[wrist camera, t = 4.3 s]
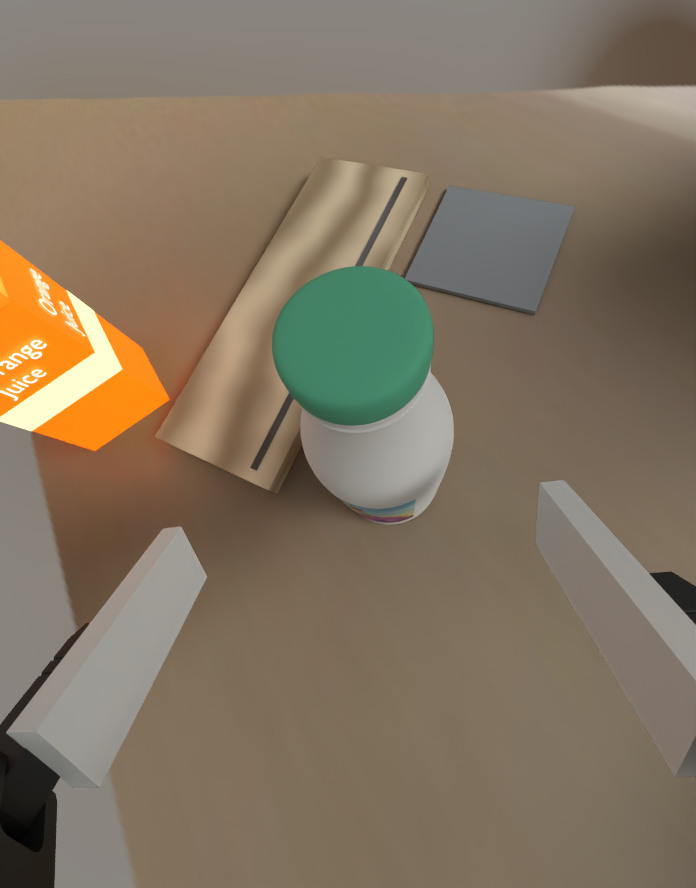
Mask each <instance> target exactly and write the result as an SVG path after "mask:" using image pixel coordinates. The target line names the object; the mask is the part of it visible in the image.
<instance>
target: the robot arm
mask: <svg viewBox="0 0 696 888" xmlns="http://www.w3.org/2000/svg"><path fill="white" fill-rule="evenodd" d="M535 544H536V546H537V548H538V549H539V551H540V553H541V554H542V556H543V558H544V559H545V561H546V563H547V564H548V566H549V568H550V569H551V571H552V573H553V574H554V576H555V578H556V579H557V581H558V583H559V584H560V586H561V588H562V589H563V591H564V593H565V594H566V596H567V598H568V599H569V601H570V603H571V604H572V606H573V608H574V609H575V611H576V613H577V614H578V616H579V618H580V619H581V621H582V623H583V624H584V626H585V628H586V629H587V631H588V633H589V634H590V636H591V638H592V639H593V641H594V643H595V644H596V646H597V648H598V649H599V651H600V653H601V654H602V656H603V658H604V659H605V661H606V663H607V664H608V666H609V668H610V669H611V671H612V673H613V674H614V676H615V678H616V679H617V681H618V683H619V685H620V686H621V688H622V690H623V691H624V693H625V695H626V696H627V698H628V700H629V701H630V703H631V705H632V706H633V708H634V710H635V711H636V713H637V715H638V716H639V718H640V720H641V721H642V723H643V725H644V726H645V728H646V730H647V731H648V733H649V735H650V736H651V738H652V740H653V741H654V743H655V745H656V746H657V748H658V750H659V751H660V753H661V755H662V756H663V758H664V760H665V761H666V763H667V765H668V766H669V768H670V770H671V771H672V773H673V775H674V776H675V777H696V586H694V585H692V584H691V583H689V582H688V581H686V580H684V579H683V578H681V577H679V576H678V575H676V574H675V573H673V572H660V573H648V572H647V571H646V570H645V569H644V567H643V566H642V565H641V564H640V563H639V562H638V561H637V560H636V559H635V558H634V556H633V555H632V554H631V553H630V552H629V551H628V550H627V549H626V548H625V547H624V545H623V544H622V543H621V542H620V541H619V540H618V539H617V538H616V537H615V536H614V534H613V533H612V532H611V531H610V530H609V529H608V528H607V527H606V526H605V525H604V523H603V522H602V521H601V520H600V519H599V518H598V517H597V516H596V515H595V514H594V512H593V511H592V510H591V509H590V508H589V507H588V506H587V505H586V504H585V503H584V501H583V500H582V499H581V498H580V497H579V496H578V495H577V494H576V493H575V492H574V490H573V489H572V488H571V487H570V486H569V485H568V484H567V483H566V482H565V481H564V480H559V481H551V482H542V483H540V487H539V501H538V515H537V529H536V542H535ZM206 578H207V576H206V574H205V572H204V570H203V568H202V566H201V564H200V562H199V560H198V558H197V556H196V554H195V552H194V550H193V548H192V547H191V545H190V543H189V541H188V539H187V537H186V535H185V533H184V531H183V529H182V527H181V526H180V527H172V528H164V529H162V531H161V532H160V533H159V534H158V536H157V537H156V538H155V540H154V541H153V542H152V543H151V545H150V546H149V547H148V549H147V550H146V551H145V553H144V554H143V555H142V556H141V558H140V559H139V560H138V562H137V563H136V564H135V566H134V567H133V568H132V569H131V571H130V572H129V573H128V575H127V576H126V577H125V579H124V580H123V581H122V582H121V584H120V585H119V586H118V588H117V589H116V590H115V592H114V593H113V594H112V595H111V597H110V598H109V599H108V601H107V602H106V603H105V605H104V606H103V607H102V608H101V610H100V611H99V612H98V614H97V615H96V616H95V618H94V619H93V620H92V621H91V623H86V624H85V625H84V626H83V627H81V628H80V629H79V630H78V631H77V632H76V633H75V634H74V635H72V636H71V637H70V638H69V639H68V640H67V642H66V643H65V644H64V645H63V646H62V648H61V649H60V650H59V652H58V653H57V654H56V655H55V656H54V660H53V661H50V663H49V664H48V665H47V667H46V668H45V669H44V670H43V672H42V675H41V676H39V677H38V678H37V679H36V681H35V682H34V683H33V684H32V686H31V687H30V688H29V689H28V690H27V692H26V693H25V694H24V695H23V697H22V698H21V699H20V700H19V702H18V703H17V704H16V705H15V707H14V708H13V709H12V711H11V712H10V713H9V714H8V716H7V717H6V718H5V719H4V721H3V722H2V723H1V725H0V888H54V879H55V849H56V820H57V799H56V794H55V793H54V792H53V791H52V790H53V788H54V787H55V785H56V783H57V781H58V780H59V778H61V779H62V780H64V781H65V782H66V783H67V784H68V785H70V786H71V787H72V788H100V786H101V784H102V782H103V780H104V778H105V776H106V774H107V773H108V771H109V769H110V767H111V765H112V763H113V761H114V759H115V757H116V755H117V753H118V751H119V749H120V747H121V745H122V743H123V741H124V739H125V737H126V735H127V733H128V731H129V729H130V727H131V725H132V724H133V722H134V720H135V718H136V716H137V714H138V712H139V710H140V708H141V706H142V704H143V702H144V700H145V698H146V696H147V694H148V692H149V690H150V688H151V686H152V684H153V682H154V680H155V678H156V676H157V675H158V673H159V671H160V669H161V667H162V665H163V663H164V661H165V659H166V657H167V655H168V653H169V651H170V649H171V647H172V645H173V643H174V641H175V639H176V637H177V635H178V633H179V631H180V629H181V627H182V625H183V624H184V622H185V620H186V618H187V616H188V614H189V612H190V610H191V608H192V606H193V604H194V602H195V600H196V598H197V596H198V594H199V592H200V590H201V588H202V586H203V584H204V582H205V580H206Z"/></svg>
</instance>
